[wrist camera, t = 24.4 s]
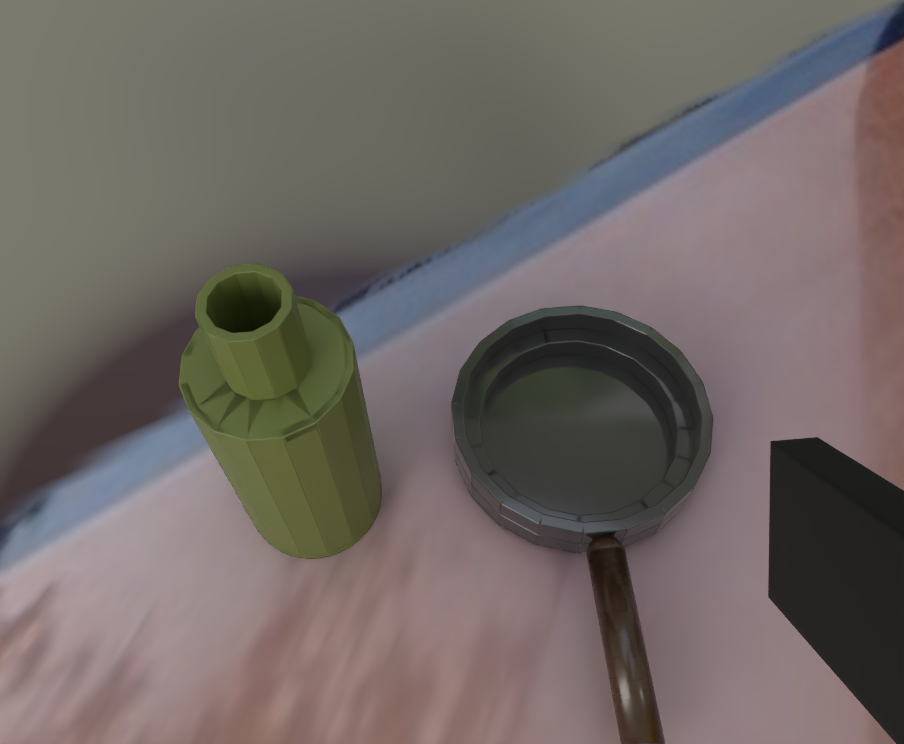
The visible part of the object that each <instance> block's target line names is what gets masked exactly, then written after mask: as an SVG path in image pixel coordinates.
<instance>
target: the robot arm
mask: <svg viewBox="0 0 904 744" xmlns="http://www.w3.org/2000/svg"><path fill="white" fill-rule="evenodd" d="M768 597H769V598H770V599H771V601H772V602H773V603H774V604H775V605H776V606H777V607H778V609H779V610H780V611H781V612H782V613H783V614H784V615H785V617H786V618H787V619H788V620H789V621H790V622H791V623H792V625H793V626H794V627H795V628H796V629H797V630H798V631H799V633H800V634H801V635H802V636H803V637H804V638H805V640H806V641H807V642H808V643H809V644H810V645H811V646H812V648H813V649H814V650H815V651H816V652H817V653H818V654H819V656H820V657H821V658H822V659H823V660H824V661H825V662H826V664H827V665H828V666H829V667H830V668H831V669H832V670H833V672H834V673H835V674H836V675H837V676H838V677H839V678H840V680H841V681H842V682H843V683H844V684H845V685H846V686H847V688H848V689H849V690H850V691H851V692H852V693H853V694H854V696H855V697H856V698H857V699H858V700H859V701H860V702H861V704H862V705H863V706H864V707H865V708H866V709H867V710H868V712H869V713H870V714H871V715H872V716H873V717H874V718H875V720H876V721H877V722H878V723H879V724H880V725H881V726H882V728H883V729H884V730H885V731H886V732H887V733H888V734H889V736H890V737H891V738H892V739H893V740H894V741H895V742H896V744H904V491H903V490H901V489H900V488H898V487H897V486H895V485H893V484H892V483H890V482H888V481H887V480H885V479H884V478H882V477H880V476H879V475H877V474H876V473H874V472H872V471H871V470H869V469H868V468H866V467H864V466H863V465H861V464H859V463H858V462H856V461H855V460H853V459H851V458H850V457H848V456H847V455H845V454H843V453H842V452H840V451H838V450H837V449H835V448H834V447H832V446H830V445H829V444H827V443H826V442H824V441H822V440H821V439H819V438H818V437H815V438H804V439H792V440H781V441H771V455H770V524H769V593H768Z"/></svg>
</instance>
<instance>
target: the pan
mask: <svg viewBox="0 0 904 744" xmlns="http://www.w3.org/2000/svg"><path fill="white" fill-rule="evenodd" d="M451 415H452V434H453V444H454V454H455V461H456V465H457V467H458V469H459V471H460V473H461V475H462V477H463V479H464V481H465V484H466V486H467V488H468V490H469V492H470V494H471V495H472V497H473V498H474V499H475V500H476V501H477V502H478V503H479V504H480V505H481V506H482V507H483V509H484V510H485V511H486V512H487V513H488V514H489V515H490V516H491V517H492V518H493V519H494V520H495V521H496V522H497V523H498V524H499V525H501V526H503V527H504V528H506V529H508V530H510V531H512V532H513V533H515V534H517V535H519V536H521V537H523V538H524V539H526V540H528V541H530V542H532V543H533V544H536V545H541V546H545V547H550V548H555V549H559V550H564V551H569V552H574V553H585V552H587V548H588V546H589V544H590V542H591V541H592V540H593V539H594V538H596V537H598V536H601V535H611V536H613V537H616V538H617V539H618V540H619V541H620V542H621V543H622V544H623V546H624V547H625V546H628V545H630V544H632V543H635V542H637V541H639V540H641V539H644V538H646V537H648V536H651V535H653V534H655V533H656V532H658V531H659V530H660V529H661V528H662V527H663V526H664V525H665V524H666V523H667V522H668V521H669V520H670V519H671V518H672V517H674V516H675V515H676V514H677V513H678V512H679V511H680V510H681V509H682V508H683V506H684V504H685V503H686V501H687V499H688V497H689V496H690V494H691V492H692V490H693V489H694V487H695V485H696V483H697V481H698V479H699V477H700V474H701V472H702V470H703V468H704V466H705V464H706V462H707V460H708V458H709V456H710V453H711V441H712V427H713V415H712V412H711V408H710V405H709V401H708V398H707V395H706V391H705V388H704V384H703V383H702V380H701V379H700V377H699V376H698V375H697V373H696V372H695V370H694V369H693V367H692V366H691V364H690V363H689V362H688V360H687V359H686V357H685V356H684V354H683V353H682V352H681V351H680V350H679V349H678V348H677V347H675V346H674V345H673V344H672V343H670V342H669V341H668V340H667V339H665V338H664V337H663V336H662V335H661V334H659V333H658V332H657V331H656V330H654V329H653V328H651V327H649V326H647V325H645V324H643V323H640V322H638V321H636V320H634V319H632V318H629V317H627V316H625V315H623V314H620V313H617V312H614V311H609V310H603V309H597V308H591V307H585V306H568V307H556V308H543V309H539V310H536V311H534V312H531V313H528V314H525V315H523V316H520V317H517V318H514V319H512V320H509V321H507V322H506V323H505V324H503V325H502V326H501V327H499V328H498V329H497V330H495V331H494V332H492V333H491V334H490V335H488V336H487V337H486V338H484V339H483V340H482V341H481V342H479V344H478V345H477V347H476V348H475V349H474V351H473V352H472V354H471V355H470V357H469V358H468V359H467V361H466V362H465V364H464V365H463V367H462V368H461V370H460V372H459V376H458V379H457V383H456V387H455V391H454V395H453V398H452V402H451Z"/></svg>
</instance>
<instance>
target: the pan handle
mask: <svg viewBox="0 0 904 744" xmlns="http://www.w3.org/2000/svg"><path fill="white" fill-rule="evenodd" d="M587 559H588V564H589V570H590V575H591V581H592V586H593V592H594V597H595V603H596V608H597V614H598V619H599V625H600V630H601V636H602V641H603V647H604V652H605V658H606V663H607V668H608V674H609V679H610V685H611V690H612V696H613V701H614V707H615V712H616V718H617V723H618V729H619V734H620V740H621V744H665V740H664V735H663V731H662V726H661V721H660V716H659V711H658V707H657V702H656V697H655V692H654V687H653V682H652V678H651V673H650V668H649V663H648V658H647V654H646V649H645V644H644V639H643V634H642V630H641V625H640V620H639V615H638V610H637V606H636V601H635V596H634V591H633V586H632V581H631V577H630V572H629V567H628V562H627V557H626V553H625V549H624V546H623V544H622V543H621V542H620V541H619V540H618V539H617V538H616V537H613V536H611V535H601V536H598V537H596V538H594V539H593V540H592V541H591V542H590V544H589V546H588V548H587Z"/></svg>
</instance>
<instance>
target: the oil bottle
mask: <svg viewBox="0 0 904 744" xmlns="http://www.w3.org/2000/svg"><path fill="white" fill-rule="evenodd" d="M195 317H196V320H197V322H198V324H199V326H200V327H199V328H198V330H196V332H195V333H194V336H193V337H192V339H191V340H190V342H189V344H188V346H187V348H186V349H185V351H184V353H183V355H182V357H181V367H180V377H179V387H180V390H181V392H182V395H183V397H184V399H185V402H186V404H187V407H188V409H189V412H190V413H191V415H192V417H193V419H194V420H195V422H196V424H197V426H198V427H199V429H200V431H201V433H202V434H203V436H204V438H205V440H206V441H207V443H208V445H209V446H210V448H211V450H212V452H213V453H214V455H215V457H216V459H217V460H218V462H219V464H220V466H221V467H222V469H223V471H224V473H225V474H226V476H227V478H228V480H229V481H230V483H231V485H232V487H233V488H234V490H235V492H236V494H237V495H238V497H239V499H240V501H241V502H242V504H243V506H244V508H245V509H246V511H247V513H248V515H249V516H250V518H251V520H252V522H253V523H254V525H255V527H256V529H257V530H258V532H259V533H260V534H261V535H262V536H263V537H264V539H265V540H266V541H267V542H268V543H269V544H271V545H272V546H273V547H275V548H276V549H278V550H279V551H281V552H283V553H285V554H288V555H291V556H295V557H299V558H322V557H327V556H331V555H334V554H337V553H339V552H341V551H344V550H345V549H347V548H349V547H351V546H352V545H353V544H355V543H356V542H357V541H358V540H359V539H361V538H362V537H363V536H364V535H365V533H366V532H367V531H368V530H369V529H370V527H371V525H372V524H373V522H374V520H375V518H376V516H377V514H378V511H379V507H380V503H381V483H380V473H379V468H378V463H377V458H376V453H375V448H374V443H373V438H372V433H371V428H370V423H369V418H368V414H367V409H366V404H365V399H364V394H363V389H362V384H361V379H360V374H359V369H358V364H357V359H356V355H355V350H354V345H353V341H352V339H351V337H350V336H349V334H348V332H347V330H346V328H345V327H344V325H343V323H342V321H341V319H340V318H339V317H338V316H336V315H335V314H334V313H332V312H331V311H329V310H328V309H327V308H325V307H324V306H322V305H321V304H320V303H318V302H317V301H314V300H311V299H307V298H303V297H299V296H295V295H294V292H293V288H292V286H290V284H289V283H288V281H287V280H286V279H285V277H284V276H283V275H282V273H281V272H279V271H277V270H274V269H272V268H269V267H266V266H264V265H261V264H249V265H248V264H247V265H235V266H232V267H230V268H228V269H226V270H224V271H222V272H220V273H218V274H216V275H214V276H213V277H212V278H210V279H209V280H208V282H207V283H206V284H205V286H204V287H203V288H202V290H201V291H200V292H199V293H198V295H197V300H196V310H195Z"/></svg>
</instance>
